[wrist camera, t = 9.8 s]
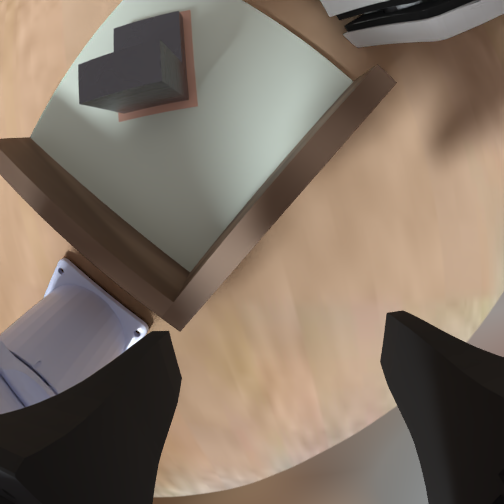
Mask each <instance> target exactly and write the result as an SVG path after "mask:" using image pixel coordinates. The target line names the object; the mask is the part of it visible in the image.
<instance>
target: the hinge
mask: <svg viewBox="0 0 504 504" xmlns="http://www.w3.org/2000/svg"><path fill="white" fill-rule="evenodd" d="M320 1H321V3H322V4H323V6H324V8H325V10H326V12H327V13H328V15H329V17H332V16H335V15H336V16H337V17H338V19H339V20H342V19H345V18H349V17H352V16H356V15H360V14H364V13H365V14H364V15H362V16H360V17H358V18H357V19H355V20H353V21H352V22H350V23H348V24H347V25H345V26H344V27H345V28H346V29H347V32H346V33H344V34H343V35H344V36H345V37H346V38H347V39H348V40H349V41H350V42H351V43H352V44H353V45H355V46H356V47H357V48H359V47H367V46H375V45H384V44H395V43H409V42H432V41H440V40H444V39H448V38H450V37H453V36H455V35H457V34H460V33H462V32H464V31H467V30H469V29H472V28H474V27H476V26H478V25H481V24H483V23H485V22H487V21H489V20H491V19H494V18H496V17H498V16H500V15H502V14H504V0H320Z"/></svg>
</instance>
